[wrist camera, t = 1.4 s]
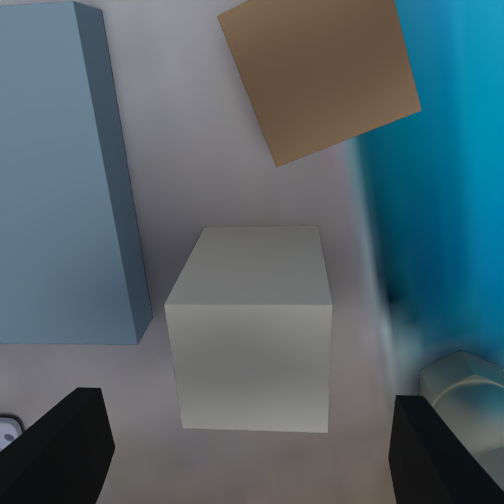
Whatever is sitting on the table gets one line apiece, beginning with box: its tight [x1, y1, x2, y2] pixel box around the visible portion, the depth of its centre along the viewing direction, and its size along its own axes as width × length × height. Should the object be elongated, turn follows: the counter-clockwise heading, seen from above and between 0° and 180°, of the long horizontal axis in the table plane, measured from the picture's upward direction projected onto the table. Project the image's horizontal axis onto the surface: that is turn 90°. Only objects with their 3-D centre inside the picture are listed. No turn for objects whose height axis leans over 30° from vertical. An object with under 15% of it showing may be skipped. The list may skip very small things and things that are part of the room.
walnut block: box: [217, 0, 421, 167], centre depth 12 cm, size 4×4×4 cm
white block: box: [164, 226, 332, 433], centre depth 15 cm, size 4×4×6 cm
